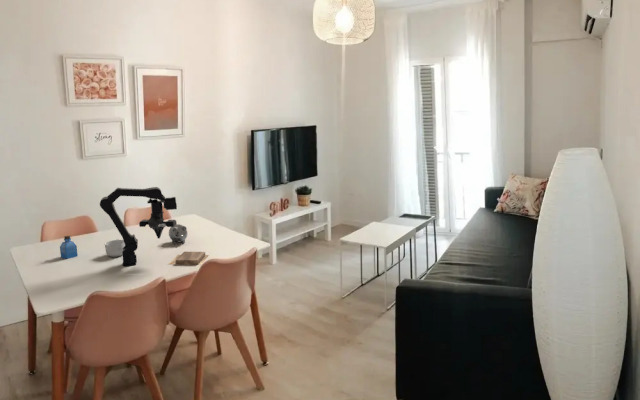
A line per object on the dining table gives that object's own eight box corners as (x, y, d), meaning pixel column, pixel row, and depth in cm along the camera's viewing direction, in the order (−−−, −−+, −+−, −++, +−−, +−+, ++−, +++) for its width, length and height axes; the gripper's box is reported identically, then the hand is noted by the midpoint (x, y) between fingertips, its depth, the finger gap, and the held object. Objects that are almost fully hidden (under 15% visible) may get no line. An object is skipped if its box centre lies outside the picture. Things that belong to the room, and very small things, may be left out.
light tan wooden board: (168, 265, 263) (167, 264, 263) (178, 255, 279) (178, 254, 279) (201, 265, 262) (200, 264, 262) (209, 255, 279) (209, 255, 279)
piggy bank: (172, 247, 295) (171, 228, 293) (166, 241, 308) (165, 223, 306) (190, 244, 301) (190, 226, 298) (184, 238, 313) (183, 221, 311)
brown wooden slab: (175, 259, 262) (197, 260, 262) (184, 251, 277) (205, 251, 276) (175, 264, 262) (197, 264, 262) (184, 255, 277) (205, 256, 277)
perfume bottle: (77, 256, 277) (75, 235, 275) (67, 259, 272) (64, 238, 270) (71, 254, 280) (69, 234, 278) (60, 257, 275) (58, 236, 273)
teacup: (121, 258, 274) (120, 244, 272) (102, 258, 274) (100, 244, 272) (131, 251, 287) (130, 237, 286) (112, 250, 287) (111, 237, 286)
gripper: (134, 213, 256) (136, 242, 259) (169, 214, 255) (170, 242, 258) (142, 209, 267) (144, 236, 270) (176, 209, 266) (177, 237, 269)
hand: (159, 238), depth 267 cm, fingers closed
